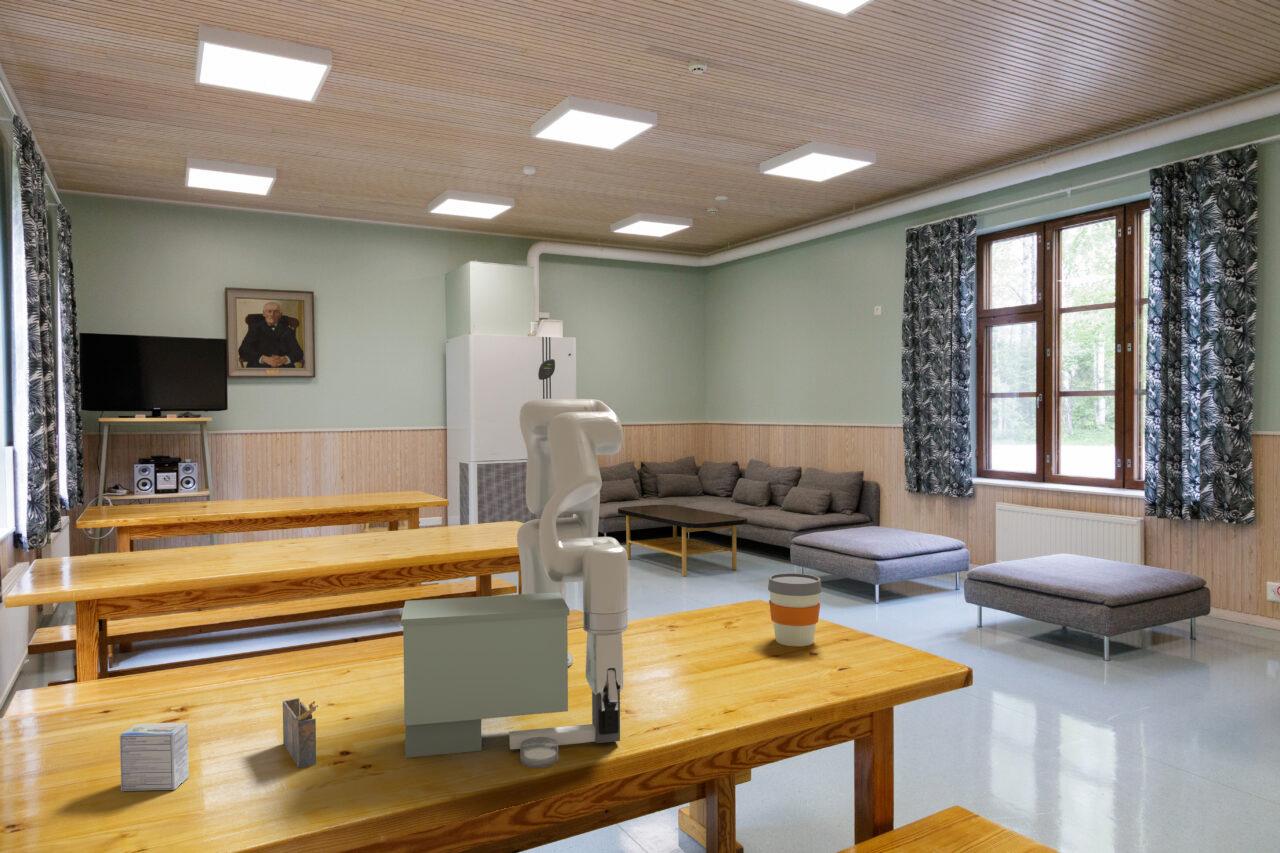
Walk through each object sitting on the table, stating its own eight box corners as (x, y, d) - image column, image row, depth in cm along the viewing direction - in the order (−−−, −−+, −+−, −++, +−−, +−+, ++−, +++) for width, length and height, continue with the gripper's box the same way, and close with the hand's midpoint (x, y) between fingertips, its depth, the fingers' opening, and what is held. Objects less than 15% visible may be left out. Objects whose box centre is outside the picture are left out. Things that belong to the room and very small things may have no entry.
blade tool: (508, 741, 137) (508, 687, 137) (615, 731, 141) (615, 679, 141) (510, 751, 133) (510, 696, 133) (620, 740, 137) (619, 687, 137)
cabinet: (407, 733, 143) (405, 600, 142) (560, 719, 148) (559, 592, 148) (402, 764, 130) (401, 619, 130) (570, 747, 136) (569, 609, 136)
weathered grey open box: (319, 766, 131) (318, 705, 130) (299, 771, 129) (298, 709, 129) (302, 742, 140) (301, 685, 140) (283, 746, 138) (282, 688, 138)
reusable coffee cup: (780, 650, 189) (781, 585, 189) (759, 635, 201) (759, 574, 201) (830, 646, 192) (831, 582, 192) (807, 632, 204) (807, 571, 204)
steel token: (519, 754, 134) (519, 738, 134) (555, 750, 135) (555, 735, 135) (521, 770, 128) (521, 754, 128) (560, 766, 130) (560, 750, 129)
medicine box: (190, 777, 126) (189, 721, 126) (174, 791, 121) (173, 733, 121) (137, 778, 126) (136, 722, 125) (119, 792, 121) (118, 734, 121)
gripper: (575, 608, 145) (576, 711, 146) (591, 634, 129) (592, 750, 129) (617, 606, 147) (618, 707, 147) (638, 631, 131) (638, 745, 131)
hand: (606, 726), depth 138 cm, fingers closed on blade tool, 4 cm apart
